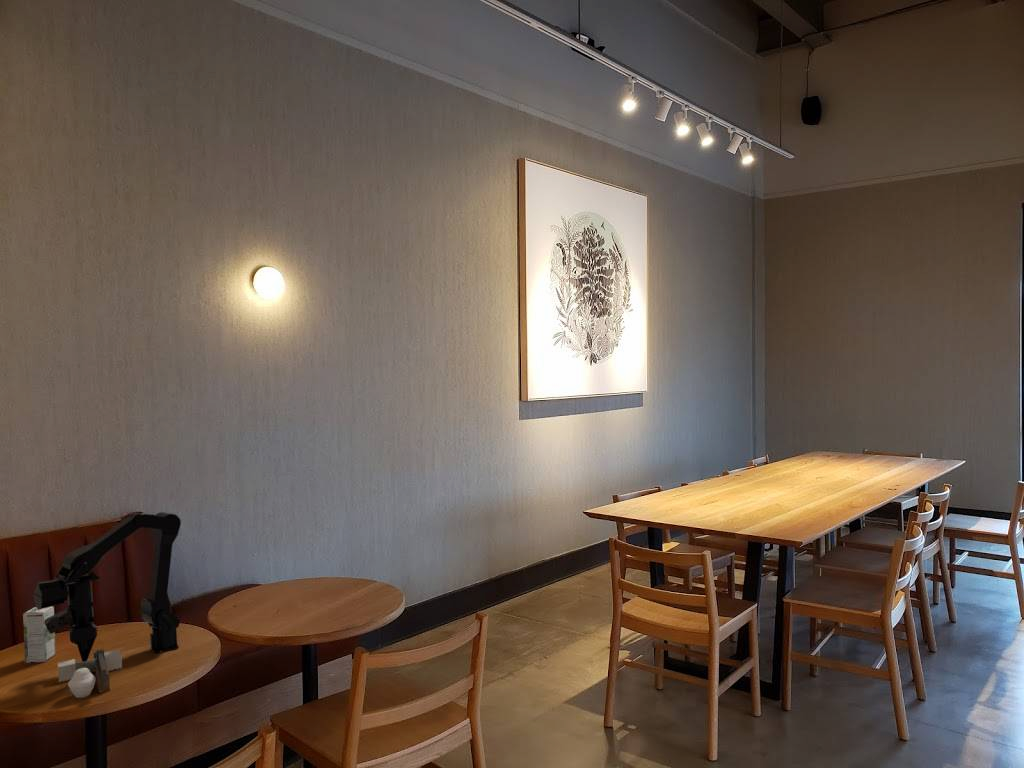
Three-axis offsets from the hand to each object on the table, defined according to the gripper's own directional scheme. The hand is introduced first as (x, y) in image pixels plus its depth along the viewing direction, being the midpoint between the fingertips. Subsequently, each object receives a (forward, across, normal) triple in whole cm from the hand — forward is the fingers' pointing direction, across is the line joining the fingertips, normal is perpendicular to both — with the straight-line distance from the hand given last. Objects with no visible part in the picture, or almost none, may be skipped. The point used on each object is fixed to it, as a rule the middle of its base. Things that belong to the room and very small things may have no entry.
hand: (83, 656), depth 205 cm
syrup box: (+5, -21, -10) cm, 24 cm away
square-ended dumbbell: (+5, 0, +1) cm, 5 cm away
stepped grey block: (0, +11, +4) cm, 12 cm away
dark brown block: (+5, +6, +4) cm, 9 cm away
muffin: (+5, +16, -1) cm, 17 cm away
